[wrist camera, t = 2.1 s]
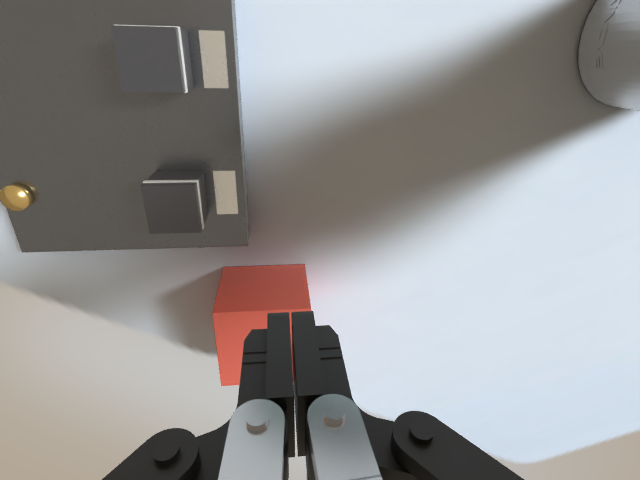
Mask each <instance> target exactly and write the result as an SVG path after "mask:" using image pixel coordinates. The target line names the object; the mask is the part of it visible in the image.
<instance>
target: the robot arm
mask: <svg viewBox="0 0 640 480" xmlns="http://www.w3.org/2000/svg"><path fill="white" fill-rule="evenodd" d="M579 69H580V74H581V79H582V81H583V83H584V85H585V87H586V89H587V90H588V91H589V93H590V94H591V95H592V96H593V97H594V98H595V99H597V100H598V101H600V102H602V103H603V104H606V105H610V106H614V107H619V108H626V109H632V110H638V111H640V0H597V1H596V2H595V4H594V6H593V8H592V10H591V12H590V13H589V15H588V17H587V20H586V23H585V26H584V28H583V31H582V34H581V40H580V45H579ZM291 320H292V351H291V335H290V318H289V312H280V313H268V314H267V329H252V330H251V331H250V333H249V334H248V336H247V337H246V338H245V340H244V346H243V356H242V366H241V376H240V387H239V396H238V404H237V408H236V410H235V412H234V413H233V415H232V417H231V419H230V420H229V421H228V422H227V423H225V424H224V425H223V426H221V427H220V428H218V429H216V430H214V431H211V432H209V433H206V434H203V435H201V436H198V437H195V436H194V435H193V434H192V433H191V432H190V431H188V430H185V429H181V428H172V429H167V430H164V431H161V432H159V433H157V434H155V435H154V436H152V437H151V438H150V439H148V440H147V441H146V442H145V443H143V444H142V445H141V446H140V447H139V448H138V449H137V450H135V451H134V452H133V453H132V454H131V455H130V456H129V457H127V458H126V459H125V460H124V461H123V462H122V463H121V464H119V465H118V466H117V467H116V468H115V469H114V470H112V471H111V472H110V473H109V474H108V475H107V476H106V477H104V478H103V479H102V480H288V478H289V464H288V457H295V432H294V431H295V430H294V429H295V428H294V427H295V425H294V399H295V414H296V432H297V449H298V456H306V466H307V480H524V479H522V478H521V477H520V476H518V475H517V474H515V473H514V472H512V471H511V470H509V469H508V468H507V467H505V466H504V465H502V464H501V463H500V462H498V461H497V460H495V459H494V458H492V457H491V456H490V455H488V454H487V453H485V452H484V451H482V450H481V449H480V448H478V447H477V446H475V445H474V444H472V443H471V442H469V441H468V440H467V439H465V438H464V437H462V436H461V435H459V434H458V433H457V432H455V431H454V430H452V429H451V428H449V427H448V426H447V425H445V424H444V423H442V422H441V421H439V420H438V419H437V418H435V417H433V416H432V415H430V414H427V413H424V412H420V411H409V412H405V413H403V414H401V415H400V416H398V417H397V419H396V420H395V422H394V421H389V420H385V419H380V418H376V417H373V416H371V415H368V414H367V413H365V412H363V411H362V410H361V409H360V408H359V407H358V406H357V405H356V404H355V402H354V400H353V398H352V395H351V391H350V387H349V382H348V378H347V373H346V369H345V365H344V360H343V356H342V351H341V347H340V343H339V338H338V335H337V334H336V333H335V331H334V330H333V329H332V328H331V327H330V326H329V325H326V326H315V320H314V314H313V311H299V312H291ZM292 365H293V368H292ZM293 382H294V385H293Z"/></svg>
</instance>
